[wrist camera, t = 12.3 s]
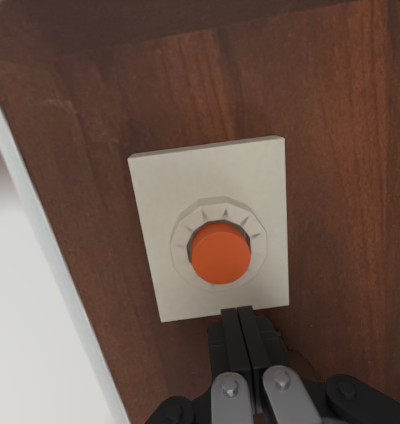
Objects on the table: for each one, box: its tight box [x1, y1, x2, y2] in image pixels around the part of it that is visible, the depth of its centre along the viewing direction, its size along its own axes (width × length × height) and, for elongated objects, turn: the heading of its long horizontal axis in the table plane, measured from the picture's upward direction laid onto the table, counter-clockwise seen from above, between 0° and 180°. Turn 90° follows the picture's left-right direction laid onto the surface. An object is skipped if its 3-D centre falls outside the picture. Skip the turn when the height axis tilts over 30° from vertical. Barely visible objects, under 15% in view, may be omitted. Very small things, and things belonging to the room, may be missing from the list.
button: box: [191, 222, 251, 284], centre depth 21 cm, size 4×4×2 cm
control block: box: [128, 135, 289, 322], centre depth 23 cm, size 14×11×4 cm
